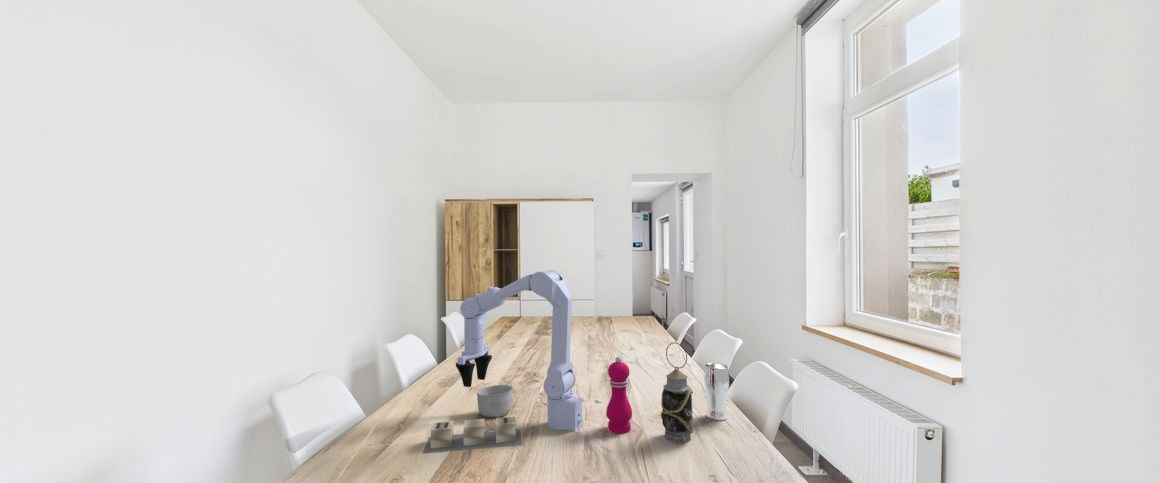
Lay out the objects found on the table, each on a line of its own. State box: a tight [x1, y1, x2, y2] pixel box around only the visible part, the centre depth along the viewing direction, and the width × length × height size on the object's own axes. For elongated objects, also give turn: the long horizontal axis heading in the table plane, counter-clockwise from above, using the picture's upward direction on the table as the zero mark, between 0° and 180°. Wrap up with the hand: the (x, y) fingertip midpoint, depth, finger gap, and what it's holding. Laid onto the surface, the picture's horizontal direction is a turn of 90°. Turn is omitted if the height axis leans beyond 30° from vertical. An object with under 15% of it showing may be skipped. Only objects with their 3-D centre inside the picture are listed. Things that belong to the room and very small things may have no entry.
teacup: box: [476, 383, 514, 419], centre depth 138 cm, size 14×11×8 cm
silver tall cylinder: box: [703, 362, 730, 421], centre depth 134 cm, size 7×7×15 cm
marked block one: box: [495, 416, 517, 443], centre depth 118 cm, size 5×5×5 cm
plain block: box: [463, 418, 486, 446], centre depth 117 cm, size 5×5×4 cm
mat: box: [422, 429, 523, 454], centre depth 117 cm, size 24×10×1 cm, turn 100°
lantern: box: [660, 342, 694, 444], centre depth 119 cm, size 9×8×25 cm
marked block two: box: [430, 421, 455, 448], centre depth 115 cm, size 5×5×5 cm
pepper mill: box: [605, 356, 633, 434], centre depth 125 cm, size 7×7×20 cm
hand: (474, 382), depth 136 cm, fingers open, 7 cm apart
